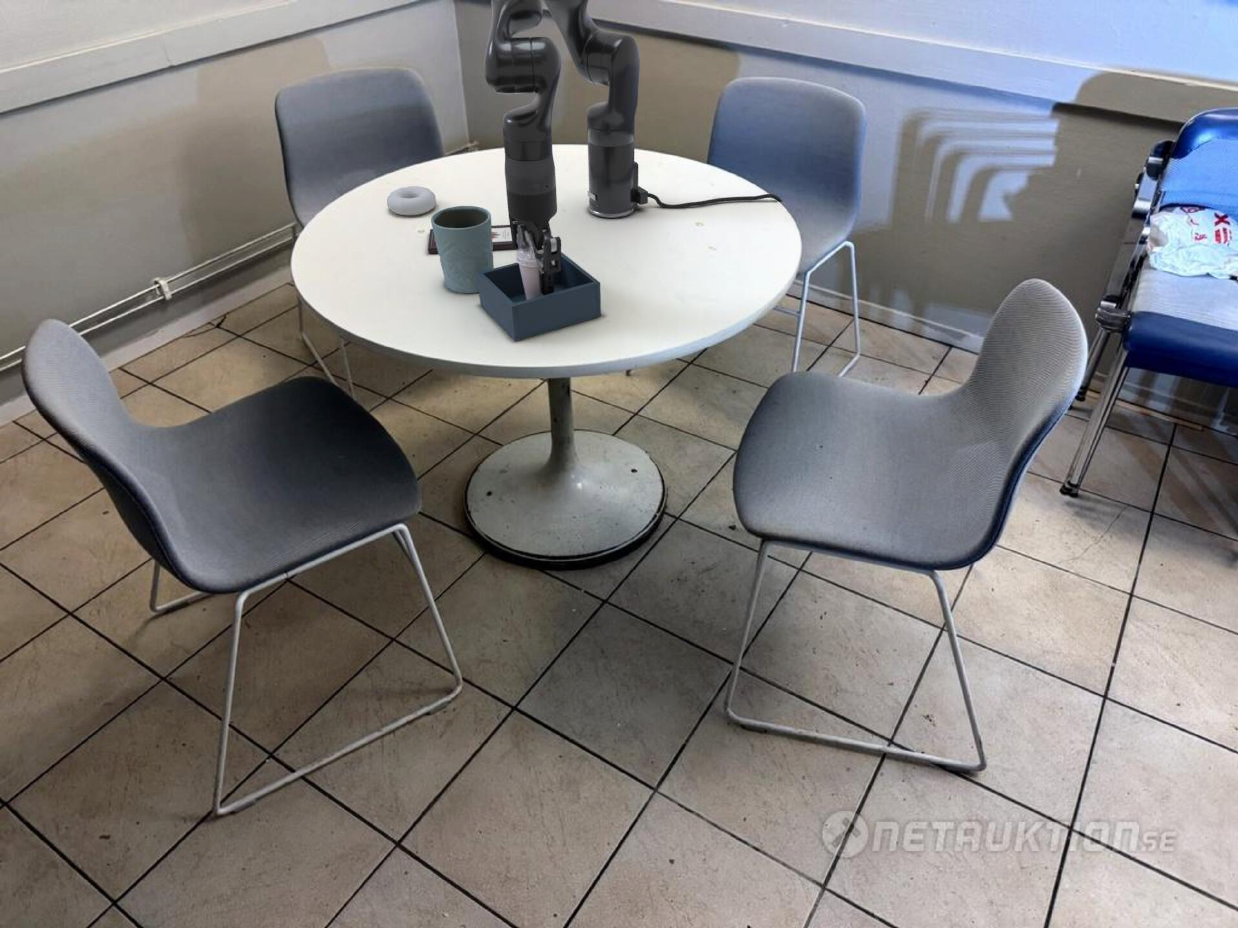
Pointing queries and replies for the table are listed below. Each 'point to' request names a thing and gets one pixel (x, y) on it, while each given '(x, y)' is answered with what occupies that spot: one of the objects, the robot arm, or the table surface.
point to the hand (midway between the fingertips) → (537, 284)
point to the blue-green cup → (463, 245)
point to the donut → (411, 200)
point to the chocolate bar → (499, 238)
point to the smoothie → (529, 272)
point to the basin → (539, 299)
